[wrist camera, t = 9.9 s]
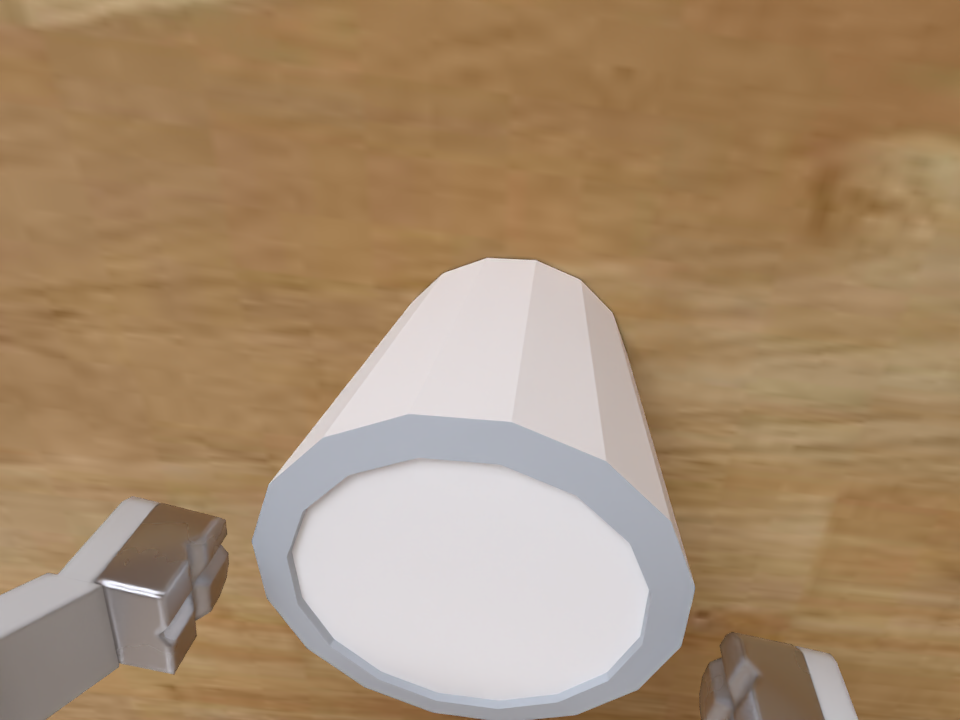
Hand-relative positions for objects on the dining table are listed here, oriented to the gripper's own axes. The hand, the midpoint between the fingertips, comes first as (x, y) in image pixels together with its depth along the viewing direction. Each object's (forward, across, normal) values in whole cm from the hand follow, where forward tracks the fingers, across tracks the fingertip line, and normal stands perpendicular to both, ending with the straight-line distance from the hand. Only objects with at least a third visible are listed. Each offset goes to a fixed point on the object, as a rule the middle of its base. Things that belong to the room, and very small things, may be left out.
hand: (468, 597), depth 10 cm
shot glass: (+7, 0, 0) cm, 7 cm away
